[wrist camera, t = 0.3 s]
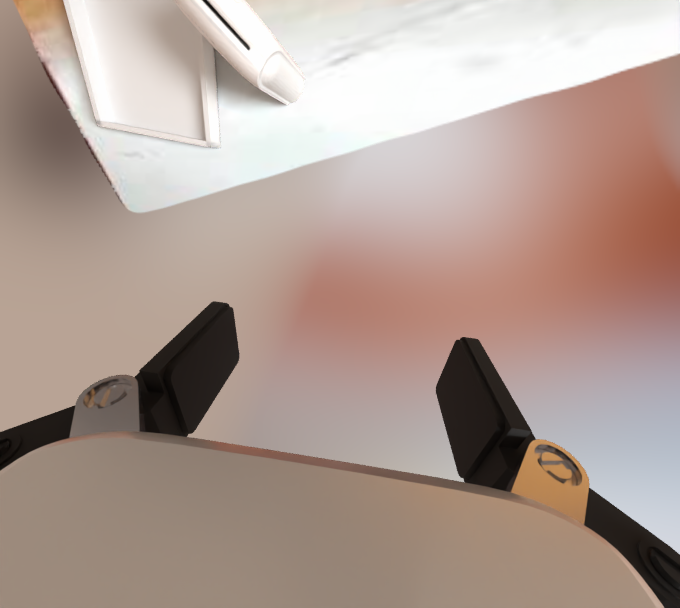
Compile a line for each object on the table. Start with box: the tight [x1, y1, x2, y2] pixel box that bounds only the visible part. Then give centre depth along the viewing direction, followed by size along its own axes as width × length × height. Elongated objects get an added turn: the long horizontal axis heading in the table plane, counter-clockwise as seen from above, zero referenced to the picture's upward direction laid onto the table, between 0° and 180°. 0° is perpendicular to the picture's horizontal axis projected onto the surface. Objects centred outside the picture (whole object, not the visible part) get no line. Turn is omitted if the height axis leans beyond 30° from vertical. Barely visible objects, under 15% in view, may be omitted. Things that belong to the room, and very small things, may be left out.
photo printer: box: [174, 0, 305, 105], centre depth 25 cm, size 10×4×12 cm, turn 47°
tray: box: [63, 0, 221, 148], centre depth 30 cm, size 15×15×2 cm
